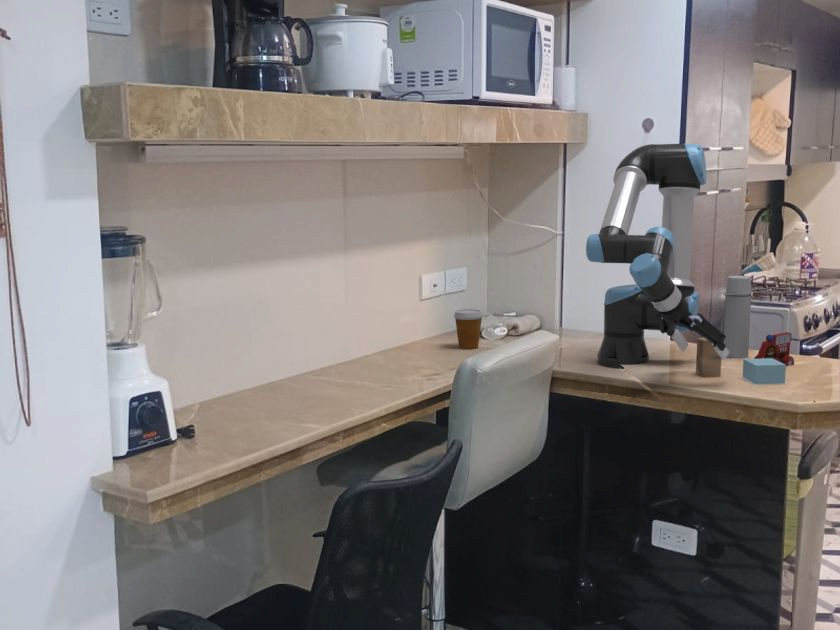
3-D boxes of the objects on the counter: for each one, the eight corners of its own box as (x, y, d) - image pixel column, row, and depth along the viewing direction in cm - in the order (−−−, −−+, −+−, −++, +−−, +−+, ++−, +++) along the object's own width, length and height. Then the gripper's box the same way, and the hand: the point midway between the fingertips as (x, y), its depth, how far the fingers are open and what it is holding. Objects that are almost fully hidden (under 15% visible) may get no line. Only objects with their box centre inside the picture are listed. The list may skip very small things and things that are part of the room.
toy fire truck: (748, 369, 261) (749, 333, 259) (778, 364, 267) (779, 329, 265) (767, 374, 255) (769, 337, 253) (797, 368, 261) (799, 333, 259)
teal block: (742, 377, 246) (743, 359, 245) (771, 376, 246) (772, 358, 246) (755, 384, 238) (756, 365, 237) (784, 383, 239) (785, 364, 238)
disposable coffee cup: (452, 345, 301) (451, 309, 299) (480, 344, 302) (480, 308, 300) (456, 350, 292) (456, 314, 290) (485, 349, 293) (485, 313, 291)
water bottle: (754, 359, 273) (758, 277, 269) (737, 363, 268) (741, 279, 264) (728, 354, 280) (731, 274, 276) (711, 358, 276) (715, 276, 272)
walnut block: (695, 373, 252) (697, 337, 250) (713, 372, 252) (714, 337, 250) (702, 377, 247) (703, 341, 245) (720, 376, 247) (722, 340, 245)
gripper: (626, 307, 245) (662, 354, 256) (700, 319, 224) (736, 370, 235) (640, 286, 247) (676, 334, 258) (715, 296, 226) (751, 348, 237)
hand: (705, 351), depth 246 cm, fingers open, 13 cm apart
